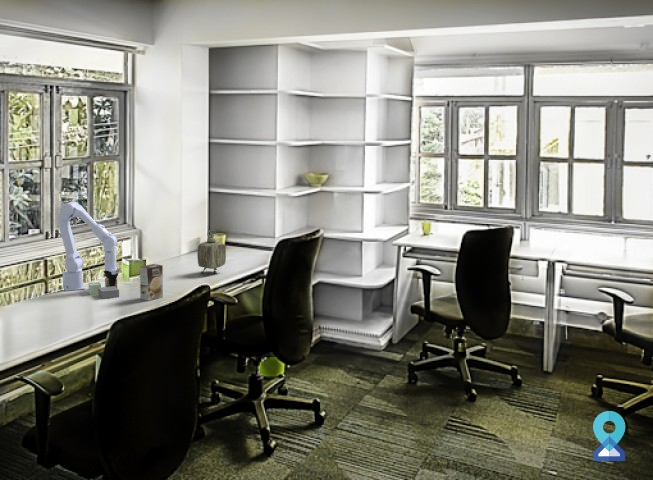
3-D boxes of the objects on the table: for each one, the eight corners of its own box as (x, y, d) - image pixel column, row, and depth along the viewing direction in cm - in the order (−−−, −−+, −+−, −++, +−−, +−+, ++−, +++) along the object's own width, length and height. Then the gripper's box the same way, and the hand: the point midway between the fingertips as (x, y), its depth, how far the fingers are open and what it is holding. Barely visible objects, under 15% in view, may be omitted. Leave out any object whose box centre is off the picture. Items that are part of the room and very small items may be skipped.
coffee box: (149, 301, 346) (148, 268, 343) (140, 298, 349) (139, 266, 346) (163, 297, 353) (162, 265, 350) (154, 295, 357) (153, 263, 354)
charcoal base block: (102, 299, 348) (102, 291, 347) (98, 295, 355) (98, 287, 354) (119, 297, 352) (119, 289, 351) (114, 294, 359) (114, 286, 358)
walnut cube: (107, 289, 363) (107, 280, 362) (105, 287, 367) (104, 278, 366) (117, 289, 365) (117, 279, 364) (115, 286, 370) (114, 277, 369)
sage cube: (90, 295, 354) (90, 285, 354) (88, 292, 359) (88, 283, 358) (101, 294, 357) (100, 284, 356) (99, 292, 361) (98, 282, 360)
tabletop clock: (215, 270, 415) (215, 227, 411) (227, 272, 410) (227, 229, 406) (197, 274, 404) (197, 230, 399) (209, 276, 399) (208, 232, 394)
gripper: (121, 261, 359) (122, 288, 362) (115, 256, 372) (116, 281, 374) (107, 262, 356) (108, 289, 358) (101, 257, 368) (102, 282, 371)
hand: (111, 285), depth 366 cm, fingers closed on walnut cube, 5 cm apart
